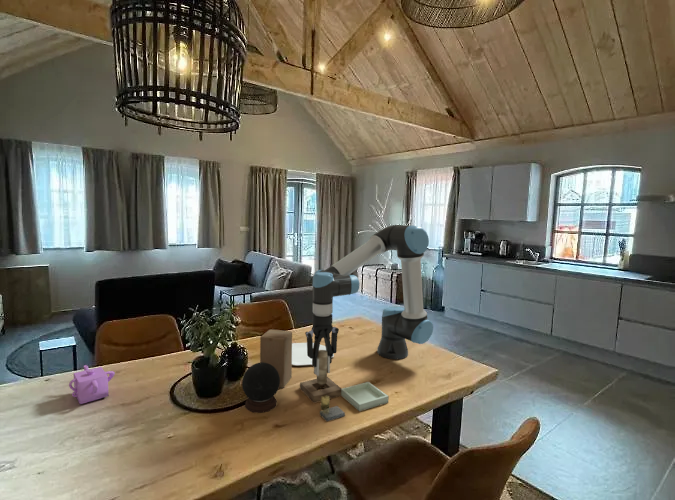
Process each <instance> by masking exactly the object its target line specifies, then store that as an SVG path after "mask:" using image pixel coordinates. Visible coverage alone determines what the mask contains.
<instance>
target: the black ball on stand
mask: <svg viewBox="0 0 675 500" xmlns="http://www.w3.org/2000/svg"><path fill="white" fill-rule="evenodd" d="M241 384H242V385H241V386H242V389H243V393H244V394H245V396H246V397H247V399H246V400H245V402H244V408H245V409H246V410H247V411H248V412H250V413H257V414H261V413H268V412H270V411H273V410H274V409H275V408H276V407H277V405H278V399H277V398H276V397H275V395H276V394H277V392H279V391H278V390H279V389H280V388H279V385H280V376H279V373H278V371H277V370H276V368H275V367H274V366H272V365H271V364H268V363H264V362H261V363H260V362H257V363H255V364H253V365H251V366H250V367H248V369H246V371H245V373H244V374H243V377H242V382H241Z"/></svg>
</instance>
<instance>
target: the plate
mask: <svg viewBox="0 0 675 500" xmlns="http://www.w3.org/2000/svg"><path fill="white" fill-rule="evenodd" d="M313 346H314V342H313ZM319 350H326V346H325V344H323V345H322V344H320V346H319ZM334 354H335V353H334ZM334 354H333V356H332V359H333V358H334V357H335V355H334ZM293 366H294V367H303V366H304V367H305V366H312V359H311V358H310V357H308V356H307V342H292V367H293Z"/></svg>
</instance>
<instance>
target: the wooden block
mask: <svg viewBox="0 0 675 500" xmlns="http://www.w3.org/2000/svg"><path fill="white" fill-rule="evenodd" d="M259 338H260V339H259V341H260V345H259V350H260V351H259V352H260V353H259V363H261V362H264V363H268V364H271V365H272V366H274V367H275V368H276V370H277V371H278V373H279V376H280V385H279V389H284V388H285V387H286V386H287V385H288V383H289V382H290V380H291V379H292V377H293V376H292V373H293V372H292V370H293V369H292V367H293V365H292V343H293V331H290V330H279V329H267V331H266V332H264V334H263V335H261V336H260V337H259Z"/></svg>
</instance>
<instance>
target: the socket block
mask: <svg viewBox="0 0 675 500" xmlns="http://www.w3.org/2000/svg"><path fill="white" fill-rule="evenodd" d="M299 389H300V391H301V392H302V393H304V395H305V396H306V397H307V398H308V399H309V400H310V401H311V402H312V403H313V404H315V403H319V402H321V397H322V396H324V395H327V396H329V397H330V399H333V398H338V397H342V396H341V389H342V387H340V385H338V384H337V383H336V382H334V381H333V380H332V379H331V378H330V377H329V376H327V383H326V384H318V383H317V378H315V379H309V380H305V381H302V382H300V383H299Z"/></svg>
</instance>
